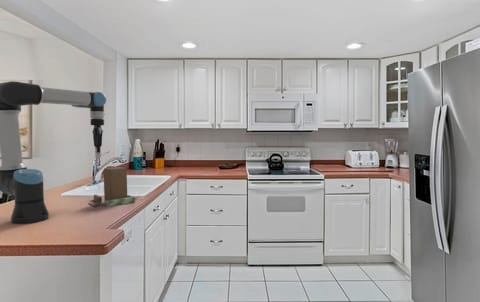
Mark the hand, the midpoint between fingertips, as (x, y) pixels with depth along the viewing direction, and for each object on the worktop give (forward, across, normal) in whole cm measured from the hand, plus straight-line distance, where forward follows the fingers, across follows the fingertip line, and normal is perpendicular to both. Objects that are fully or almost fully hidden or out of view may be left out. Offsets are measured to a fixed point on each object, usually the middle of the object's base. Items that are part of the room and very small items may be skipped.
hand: (97, 158), depth 205 cm
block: (+26, -12, -6) cm, 29 cm away
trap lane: (+26, -9, -6) cm, 28 cm away
